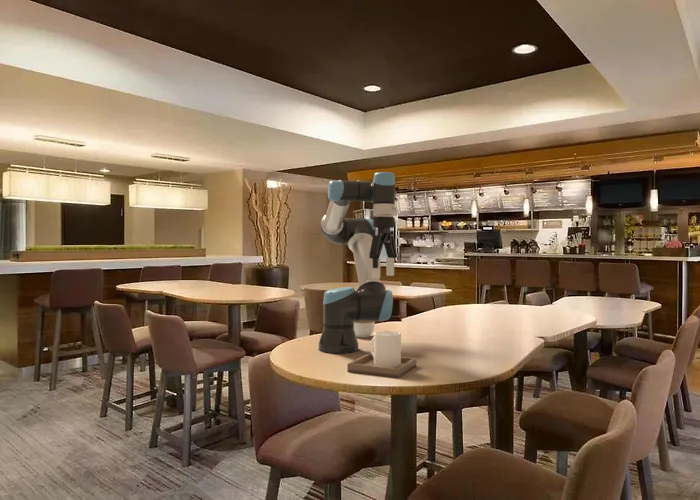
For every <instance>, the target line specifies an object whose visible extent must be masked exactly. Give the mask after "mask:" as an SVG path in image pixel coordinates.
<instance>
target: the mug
mask: <svg viewBox="0 0 700 500" xmlns="http://www.w3.org/2000/svg"><path fill="white" fill-rule="evenodd" d="M372 346H373V347H372ZM372 348H373V349H372ZM401 348H402V332H399V331H394V330H379V331H373V337H372V339H370V354H372V356H373V357H374V366H380V367H389V368H399V367H400V365H401V357H402V349H401Z"/></svg>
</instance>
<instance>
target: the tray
mask: <svg viewBox="0 0 700 500" xmlns="http://www.w3.org/2000/svg"><path fill="white" fill-rule="evenodd" d="M415 367H417V358H416V357H410V356H409V357H407V356H401V365H400V367H399V368H389V367H380V366H374V357H373V356H372V354H371V353H367V354H365V355H362V356H360V357H358V358H356V359H354V360H352V361H350V362H348V363H347V371H346V372H348V373H357V374H364V375H372V376H378V377H379V376H380V377H389V378H396V379H397V378H399V379H400V378H401V377H403V376H404V375H406V374H407V373H408V372H410V371H411V370H413V369H414V368H415Z"/></svg>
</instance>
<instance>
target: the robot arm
mask: <svg viewBox="0 0 700 500" xmlns="http://www.w3.org/2000/svg"><path fill="white" fill-rule="evenodd" d="M327 199H328V200H329V203H328V207H327V210H326V213H325V215H324V216H323V217H322V218H321V221H320V226H319V227H320V228H319V229H320V232H321V234H322V236H323V237H324V238H325V239H326V240H327V241H328V242H330V243H332V244H334V245H346V246H347V247H348V248H349V250H350V251H351V252H352V254H353V259H354V264H355V265H354V266H355V271H356V276H357V280H358V282H357V283H358V287H357V289H356V290H355V288H354V286H345V287H344V286H343V287H336V288H330V289H327V290H326V291H324V294H323V302H322V304H323V316H322V317H323V329H322V332H321V336H320V338H319V340H318V341H319V342H318V350H319V351H320V352H323V353H330V354H347V353H353V352H357V351H359V342H358V341H359V340H358V337H356V334H355V331H354V321H375V322H382V321H384V322H385V321H389V320H390V318H391V316H392V312H393V306H394V305H393V304H394V297H393V291H391V290H389V289H386V286H385V285H384V283H382V282H381V280H380V278H381V253H382V251H383V247H384V248H385V252H386V256H387V257H386V276H387V277H388V276H389V277H390V276H391V277H394V276H395V259H396V258H398V253H397V248H396V243H395V235H394V233H395V232H394V230H391V229H392V228H393V229H394V228H395V226H396V225H395V217H394V216H395V213H396V212H395V211H396V206H395V205H396V204H395V203H396V202H395V201H396V176H395V174H394V173H393V172H389V171H380V172H379V171H378V172H374V174H373V180H372V181H371V180H369V181H367V180H366V181H365V180H364V181H362V180H341V179H338V180H330V181H329V182H328V187H327ZM351 202H366V203H367V202H368V203H373V204H372V205H373V206H372V207H373V211H372V215H373V216H374V217H373V218H372V219H371V218H364V217H362V218H352V217H351V218H347V217H345V216H346V214H347V212H348V209H349V206H350V203H351Z"/></svg>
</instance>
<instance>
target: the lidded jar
mask: <svg viewBox="0 0 700 500" xmlns="http://www.w3.org/2000/svg"><path fill="white" fill-rule="evenodd" d="M375 322H376V321H354V331H355V334H356V338H361V339H363V338H369V337H370V336H371V335H372V334H373V333H374V329H375V324H376V323H375Z"/></svg>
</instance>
